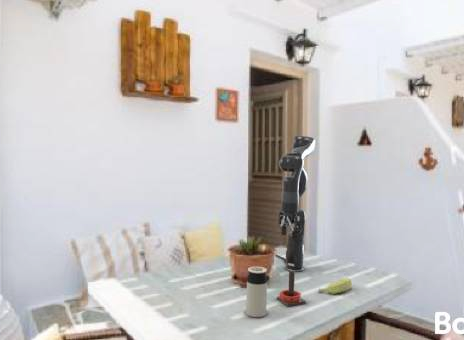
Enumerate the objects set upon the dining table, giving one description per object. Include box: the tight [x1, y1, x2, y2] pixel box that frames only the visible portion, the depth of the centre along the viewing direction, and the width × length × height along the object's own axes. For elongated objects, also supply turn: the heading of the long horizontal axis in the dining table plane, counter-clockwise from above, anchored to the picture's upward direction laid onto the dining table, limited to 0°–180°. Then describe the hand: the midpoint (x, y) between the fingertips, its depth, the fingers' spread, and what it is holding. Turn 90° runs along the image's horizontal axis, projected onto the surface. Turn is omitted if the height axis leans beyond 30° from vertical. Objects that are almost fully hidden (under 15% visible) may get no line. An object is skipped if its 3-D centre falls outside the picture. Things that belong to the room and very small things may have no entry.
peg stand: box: [276, 270, 307, 308], centre depth 168 cm, size 9×9×13 cm
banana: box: [318, 276, 353, 295], centre depth 185 cm, size 14×6×20 cm
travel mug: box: [245, 266, 268, 318], centre depth 154 cm, size 8×8×18 cm
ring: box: [278, 289, 302, 302], centre depth 169 cm, size 9×9×2 cm
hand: (288, 237), depth 172 cm, fingers open, 8 cm apart
